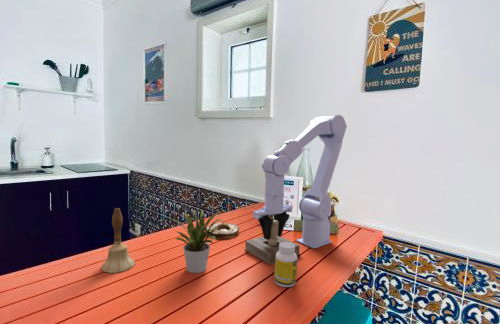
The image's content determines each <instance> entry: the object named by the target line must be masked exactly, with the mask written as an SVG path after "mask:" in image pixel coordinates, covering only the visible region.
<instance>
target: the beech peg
mask: <svg viewBox="0 0 500 324" xmlns="http://www.w3.org/2000/svg"><path fill="white" fill-rule="evenodd" d="M273 220H274V219H273ZM277 240H278V221H277V220H274V221H273V224H272V227H271V235H270V240H268V246H270V247H274V246H277Z"/></svg>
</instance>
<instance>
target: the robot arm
mask: <svg viewBox="0 0 500 324" xmlns="http://www.w3.org/2000/svg"><path fill="white" fill-rule="evenodd" d="M347 127H348V125H347V123H346V120H345V118H344V116H342V115H341V114H336V115H318V116H316V117H315V118H314V119H312V120H310V124H309V125H308V126H307V127H306V128H305V129H304V130H303V132H301V133H300V134H299V135H298V136H297V137H296V138H295V139H290V140H286V141H284V144H283V146H281V147H280V148H279V149H278V150H274V153H273V154H272V155H268V156H266V157H265V159H264V160H263V163H262V164H261V168H262V171H264V178H265V184H264V205H263V206H262V208H259V209H258V210H253V212H252V213H253V214H252V215H253V216H252V218H253V219H255V220H257V221H258V222H259V225H260V228H261V231H262V236H264V238H265V239H267V240H270V235H271V227H272V224H273V221H274V220H277V221H278V236H279V237H282V235H283V231H284V228H285V226H286V224H287V222H288V221H289V219H290V214H288V213H292V212H293V205H291V204H290V205H289V204H284V196H285V195H284V193H285V191H284V190H285V175H286V174H288V172H289V170H290V167H291V165H292V163H293V162H294V161H296V160H297V158H299V157H300V156H301V155H302V154H303V152H304V151H303V148H304V147H306V146H307V145H308V144H309V143H311V142H312V141H313V140H314V139H315V138H316V137H318V138H319V139H320V140H321V142H323V145H324V147H323V151H322V153H321V156H320V160H319V164H318V166H317V169H316V172H315V176H314V178H313V181H312V185H311V187H310V188H309V189H306V190H305V192H304V194H303V196H302V197H301V199H300V200H299V203H298V208H299V211H300V212H301V216H302V233H301V234H302V236H301V238H297V239H296V242H297V243H300V244H303V245H305V246H306V247H309V248H311V249H317V248H321V247H323V246H326V245H329V244H332V240H330V238H331V237H330V236H331V222H330V219H329V218H328V217H329V216H330V214H331V211H332V210H331V209H332V208H331V204H332V201H333V200H332V198H331V196H330V195H329V193H328V192H329V187H330V184H331V182H332V179H333V175H334V172H335V169H336V167H337V162H338V159H339V155H340V152H341V150H342V147H343V139H344V137H345V133H346V131H347ZM270 216H273V218H271V217H270Z"/></svg>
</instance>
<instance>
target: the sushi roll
mask: <svg viewBox="0 0 500 324" xmlns="http://www.w3.org/2000/svg"><path fill="white" fill-rule="evenodd" d="M210 226H211V224H210V225H207V227H206V229H205V231H206V230H208V229H209V228H208V227H210ZM218 227H220V228H218ZM215 228H217V229H216V230H215V231H213V232H212V233H211V235H210V236H215V237H216V240H218V241H219V240H229V239H232V238H235V237H238V234H239V231H240V226H239V225H237V224H234V223H229V222H215V223H214V224H213V226H212V227H211V228H210V230H213V229H215ZM205 231H204V232H205ZM210 232H211V231H209V232H208V234H209V233H210ZM208 234H207V235H206V236H208ZM210 236H209V237H210Z"/></svg>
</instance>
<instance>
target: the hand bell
mask: <svg viewBox="0 0 500 324" xmlns="http://www.w3.org/2000/svg"><path fill="white" fill-rule="evenodd" d="M112 213H113V214H112V216H111V217H112V218H111V225H112V228H113V232H114V233H113V234H114V239H113V241H114V242H113V245H111V246H109V248H108V251H107V258H106V260H105V262H104V263H102V265H101V267H100V270H101V269H102V270H101V271H102V272H103V271H104V273H106V272H107V274H117V273H121V272H126V271H127V270H131V269H132V268H133V267H134V266H135V264H136V262H135V260H134V259H133V258H132V257H130V255H129V251H128V246H127V244H124V243H122V227H123V224H124V223H123V221H124V220H123V215H122V214H123V213H122V211H121V208H120V207H119V208H118V207H115V208H114V210H113V212H112Z"/></svg>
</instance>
